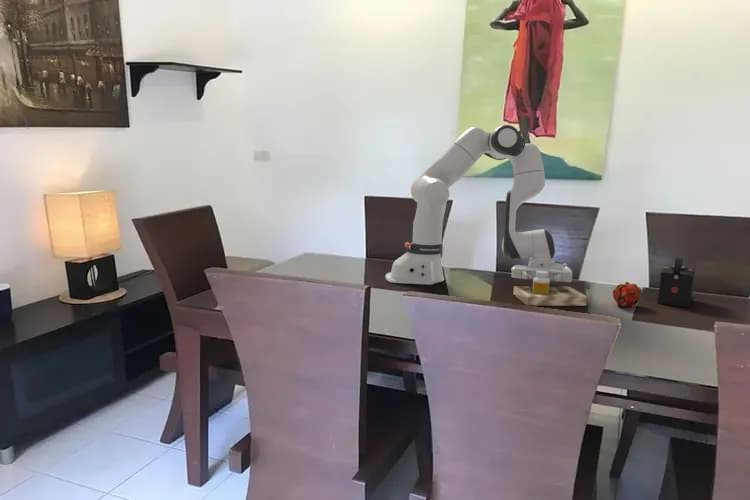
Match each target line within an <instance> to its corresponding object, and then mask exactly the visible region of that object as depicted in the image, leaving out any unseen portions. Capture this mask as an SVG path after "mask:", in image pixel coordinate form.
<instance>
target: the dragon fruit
mask: <svg viewBox="0 0 750 500" xmlns="http://www.w3.org/2000/svg"><path fill="white" fill-rule="evenodd" d="M642 291H643V290H642V288H641V287H639V286H638V285H637V284H636V283H630V282H628V281H625V282H624V283H621V284H618V285H617V286H616V287H615V288H614V290H613V291H612V297H613V299H614V302H616V305H617V308H625V307H630V308H635V307H636V306H637V304H639V303H641V302H642V301H643V298H641V296H642V293H643V292H642Z"/></svg>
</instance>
